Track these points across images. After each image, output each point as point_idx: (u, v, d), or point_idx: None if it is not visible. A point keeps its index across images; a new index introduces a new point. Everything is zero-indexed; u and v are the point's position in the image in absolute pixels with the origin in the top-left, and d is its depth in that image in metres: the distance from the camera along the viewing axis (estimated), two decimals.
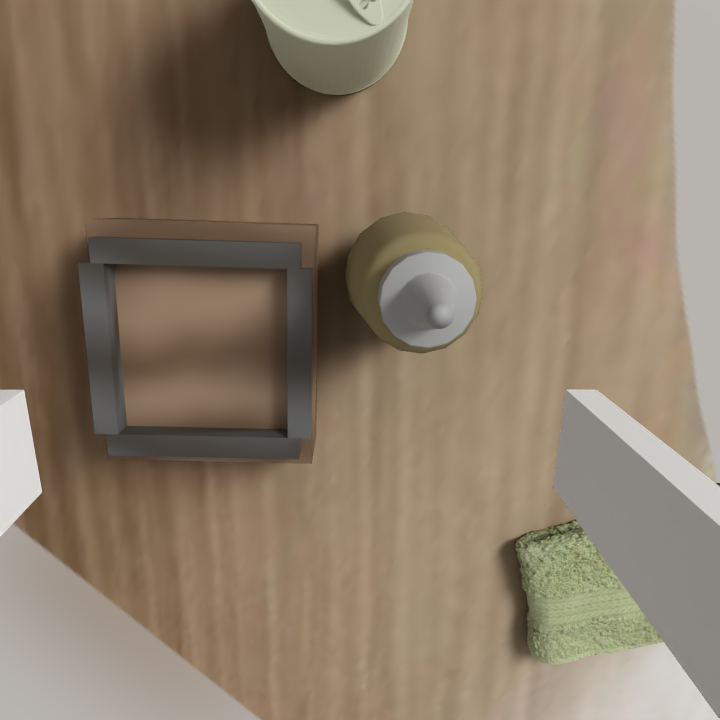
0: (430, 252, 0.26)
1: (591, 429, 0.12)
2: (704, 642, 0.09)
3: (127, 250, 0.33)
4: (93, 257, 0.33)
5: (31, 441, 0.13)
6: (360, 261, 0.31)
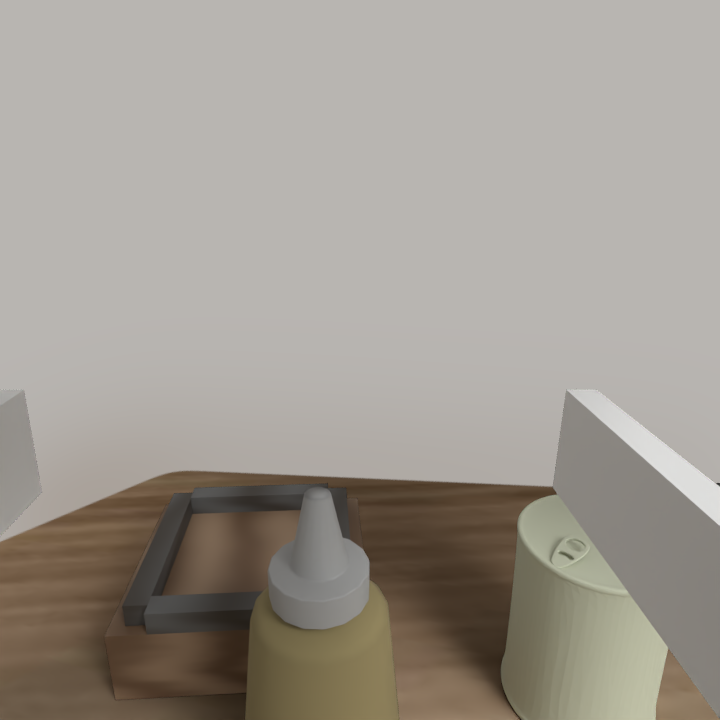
0: (368, 563, 0.26)
1: (591, 429, 0.12)
2: (704, 642, 0.08)
3: (338, 503, 0.44)
4: (332, 489, 0.46)
5: (31, 441, 0.13)
6: None
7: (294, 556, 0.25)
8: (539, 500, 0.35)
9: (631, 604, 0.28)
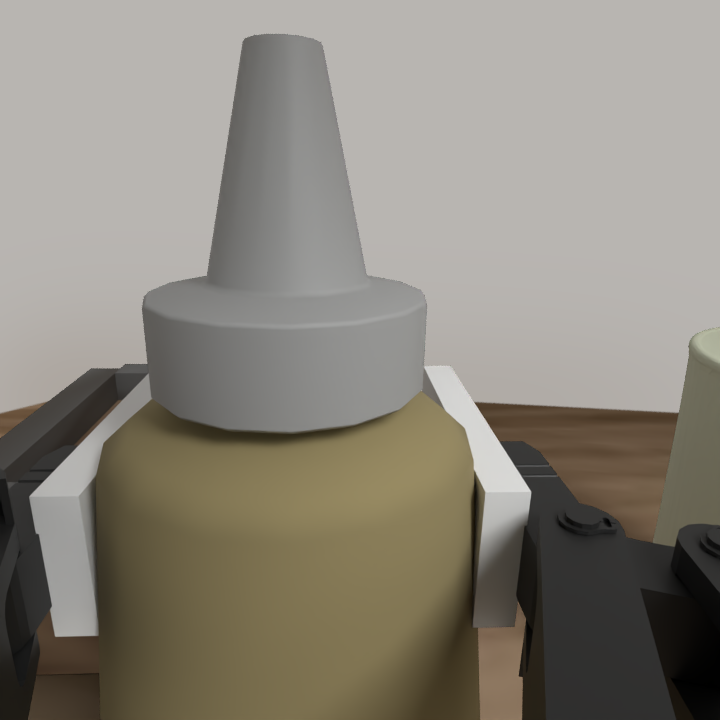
0: (422, 297, 0.09)
1: (431, 398, 0.14)
2: None
3: None
4: None
5: None
6: None
7: (214, 241, 0.09)
8: (715, 329, 0.19)
9: None
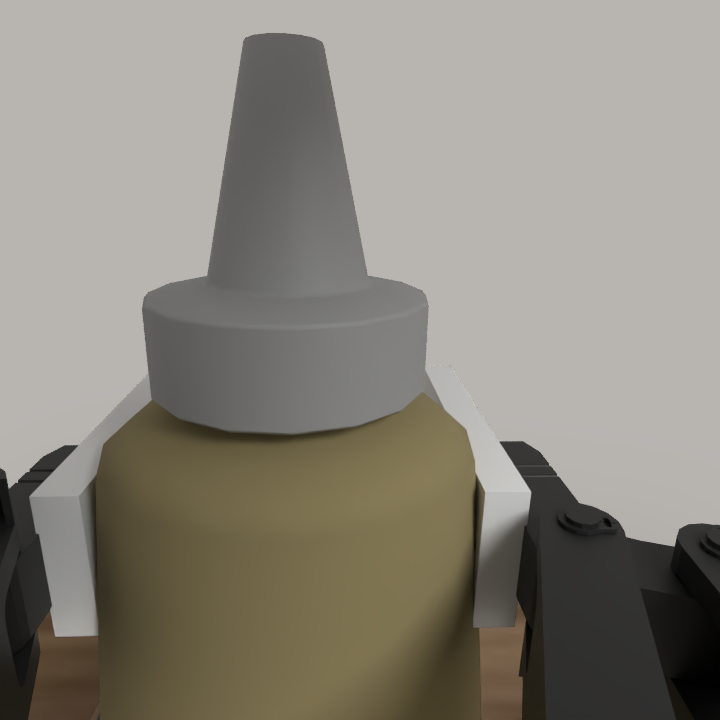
0: (423, 297, 0.09)
1: (431, 398, 0.14)
2: None
3: None
4: None
5: None
6: None
7: (214, 241, 0.09)
8: None
9: None
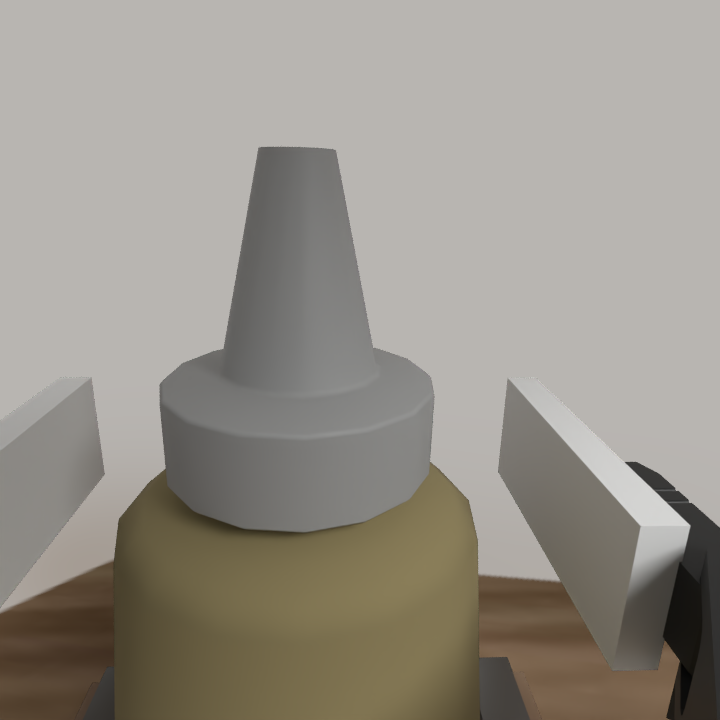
0: None
1: (524, 414, 0.13)
2: (602, 603, 0.09)
3: (507, 716, 0.18)
4: None
5: (96, 426, 0.14)
6: None
7: (229, 335, 0.09)
8: None
9: None
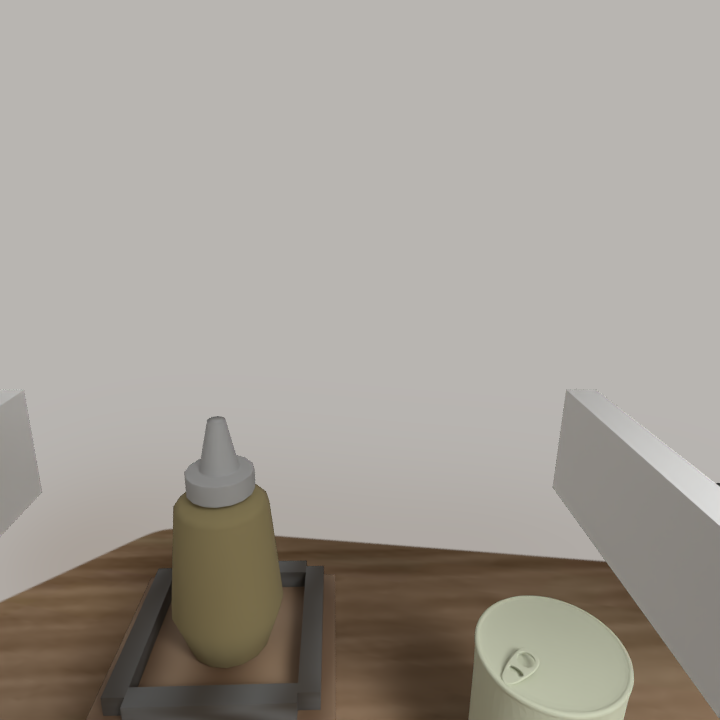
0: (253, 470, 0.38)
1: (591, 429, 0.12)
2: (704, 642, 0.08)
3: (314, 584, 0.46)
4: (310, 567, 0.48)
5: (30, 441, 0.13)
6: None
7: (201, 461, 0.37)
8: (499, 603, 0.37)
9: None
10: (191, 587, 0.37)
